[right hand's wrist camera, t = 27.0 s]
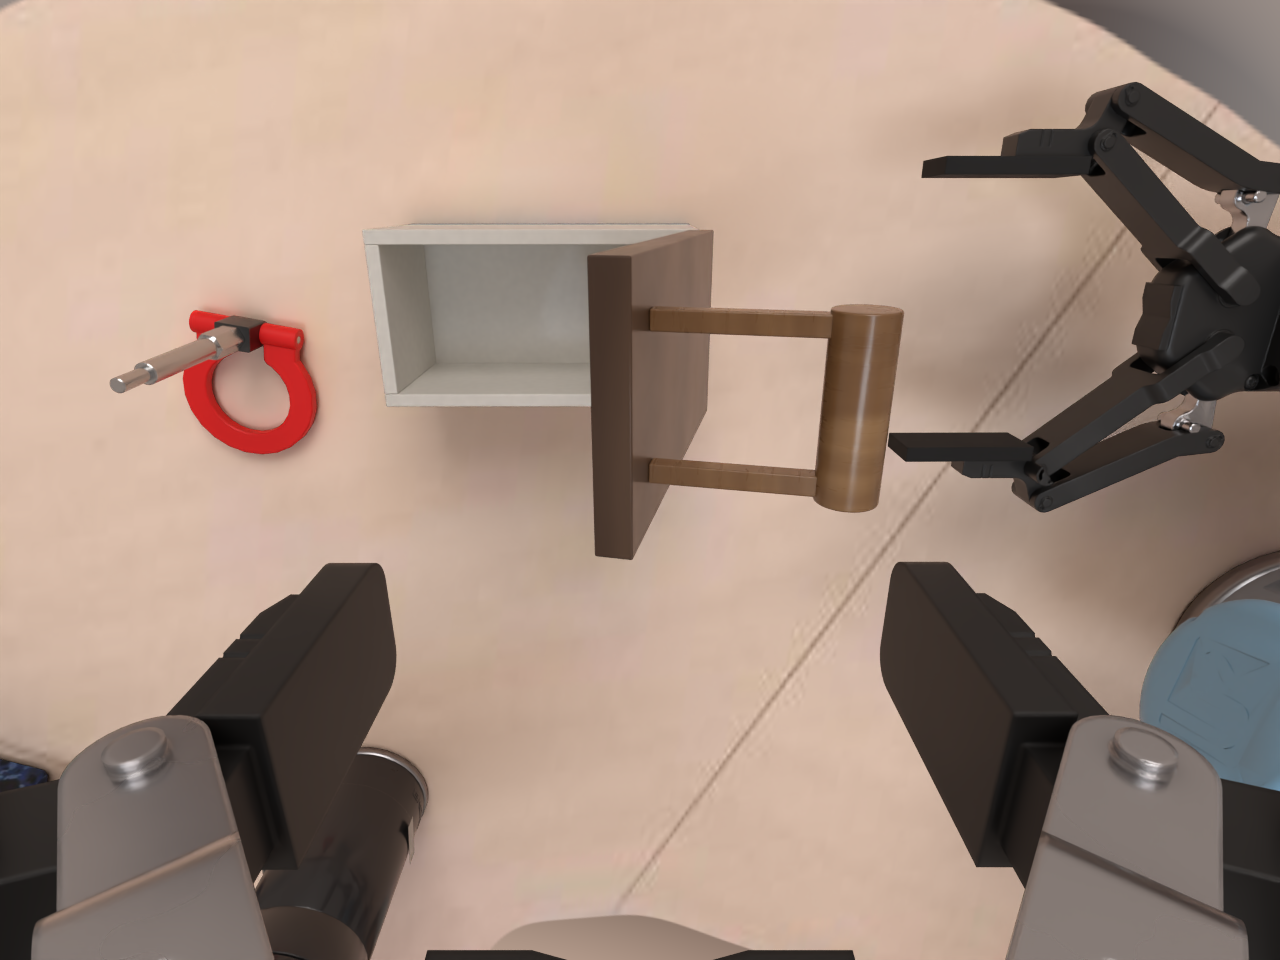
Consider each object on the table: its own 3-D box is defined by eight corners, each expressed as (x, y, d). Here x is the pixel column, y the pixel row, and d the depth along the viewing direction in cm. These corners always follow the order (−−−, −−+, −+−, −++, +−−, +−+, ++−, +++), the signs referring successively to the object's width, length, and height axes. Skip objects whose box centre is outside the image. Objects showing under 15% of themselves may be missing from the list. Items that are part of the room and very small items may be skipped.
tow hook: (320, 457, 50) (319, 328, 46) (216, 549, 38) (204, 385, 34) (197, 436, 49) (187, 304, 45) (54, 523, 37) (24, 354, 34)
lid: (594, 556, 23) (879, 587, 21) (586, 254, 19) (925, 260, 17) (684, 409, 39) (850, 419, 37) (688, 230, 35) (871, 231, 33)
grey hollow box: (429, 371, 47) (385, 407, 39) (413, 223, 44) (361, 229, 36) (685, 371, 47) (694, 407, 39) (688, 223, 44) (700, 229, 36)
